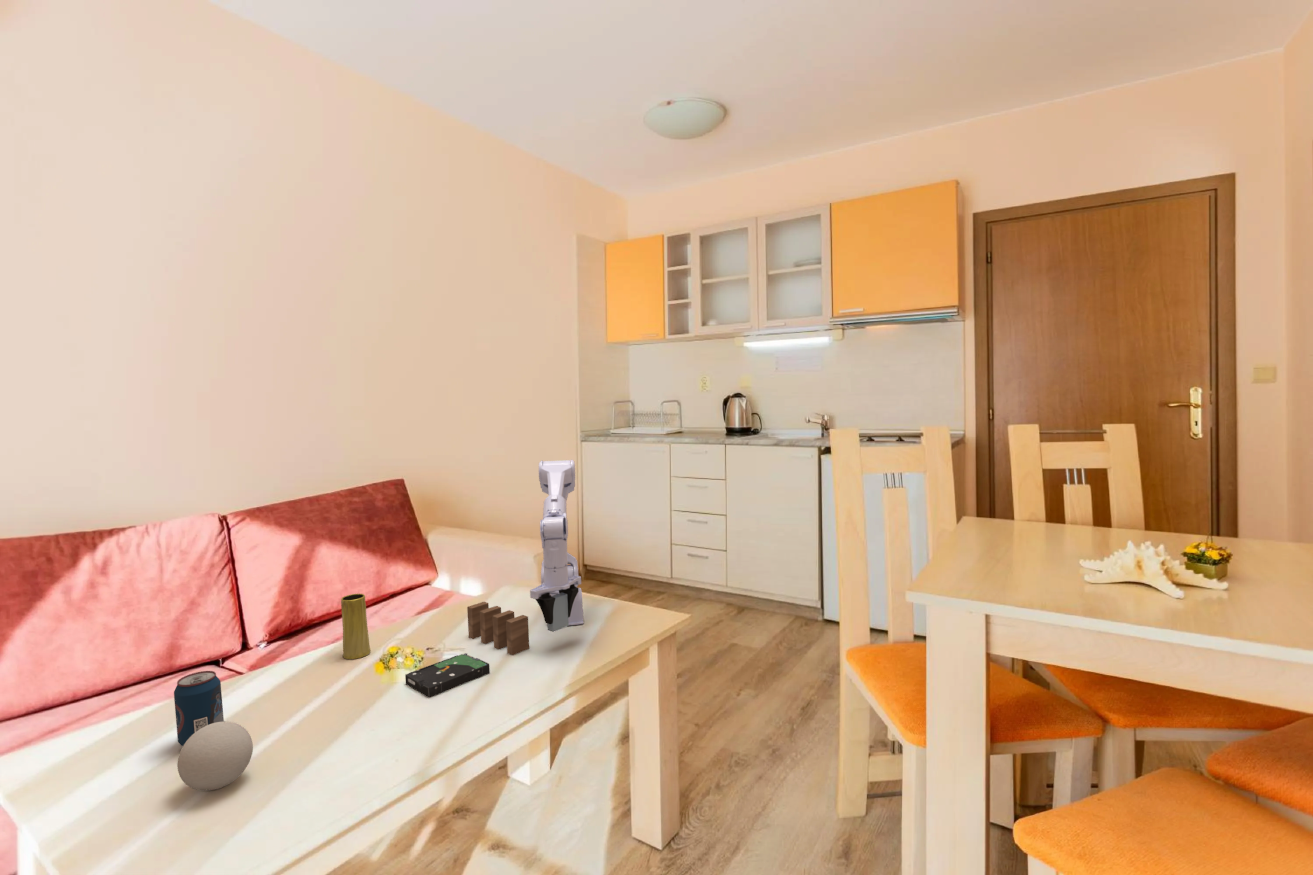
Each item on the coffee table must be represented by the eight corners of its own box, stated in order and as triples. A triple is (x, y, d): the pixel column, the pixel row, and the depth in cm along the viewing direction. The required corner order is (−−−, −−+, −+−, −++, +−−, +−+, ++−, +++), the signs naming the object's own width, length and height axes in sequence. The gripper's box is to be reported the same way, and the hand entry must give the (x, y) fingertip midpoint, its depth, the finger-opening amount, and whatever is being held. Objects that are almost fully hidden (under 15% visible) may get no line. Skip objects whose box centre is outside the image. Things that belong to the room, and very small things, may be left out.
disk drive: (429, 701, 130) (491, 674, 141) (429, 688, 130) (490, 662, 141) (404, 686, 137) (465, 662, 148) (404, 674, 136) (464, 650, 148)
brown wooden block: (515, 643, 157) (514, 611, 157) (498, 649, 154) (497, 617, 153) (510, 641, 159) (509, 610, 158) (493, 647, 155) (492, 615, 154)
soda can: (178, 739, 116) (172, 676, 116) (223, 726, 121) (218, 665, 120) (178, 756, 111) (172, 690, 110) (226, 741, 115) (220, 678, 114)
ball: (167, 809, 96) (161, 747, 96) (197, 772, 106) (193, 714, 105) (240, 798, 99) (235, 736, 98) (264, 762, 108) (260, 706, 108)
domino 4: (568, 625, 156) (567, 594, 155) (552, 631, 152) (551, 599, 152) (563, 623, 157) (562, 592, 157) (547, 629, 154) (546, 597, 153)
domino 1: (502, 637, 161) (501, 607, 160) (485, 644, 157) (484, 612, 157) (497, 636, 162) (496, 605, 162) (481, 642, 159) (479, 611, 158)
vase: (337, 657, 151) (333, 599, 150) (357, 647, 157) (354, 591, 156) (356, 661, 149) (352, 602, 148) (376, 650, 155) (372, 594, 154)
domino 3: (529, 648, 154) (527, 616, 153) (512, 655, 150) (511, 622, 149) (524, 646, 155) (522, 614, 155) (507, 653, 151) (505, 620, 151)
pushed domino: (489, 632, 165) (488, 602, 164) (473, 638, 161) (471, 608, 160) (485, 631, 166) (483, 601, 165) (468, 637, 162) (467, 606, 162)
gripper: (542, 575, 146) (545, 632, 147) (588, 561, 156) (590, 614, 157) (523, 570, 150) (526, 625, 151) (569, 556, 161) (571, 608, 162)
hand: (557, 619), depth 155 cm, fingers closed on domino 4, 5 cm apart
